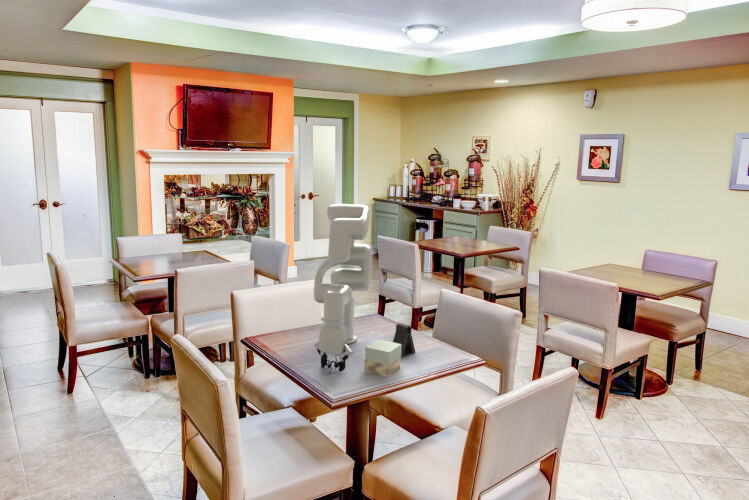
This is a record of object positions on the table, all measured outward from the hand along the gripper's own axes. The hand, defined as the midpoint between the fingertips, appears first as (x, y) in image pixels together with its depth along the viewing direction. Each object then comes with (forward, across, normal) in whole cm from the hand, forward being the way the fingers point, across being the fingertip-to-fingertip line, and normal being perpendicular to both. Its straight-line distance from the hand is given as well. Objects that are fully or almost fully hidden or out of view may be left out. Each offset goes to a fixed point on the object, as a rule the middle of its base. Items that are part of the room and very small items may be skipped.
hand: (332, 368), depth 202 cm
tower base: (+1, +15, +11) cm, 19 cm away
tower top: (-4, +15, +11) cm, 19 cm away
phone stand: (+1, +14, +31) cm, 34 cm away
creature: (+1, -1, -1) cm, 2 cm away
